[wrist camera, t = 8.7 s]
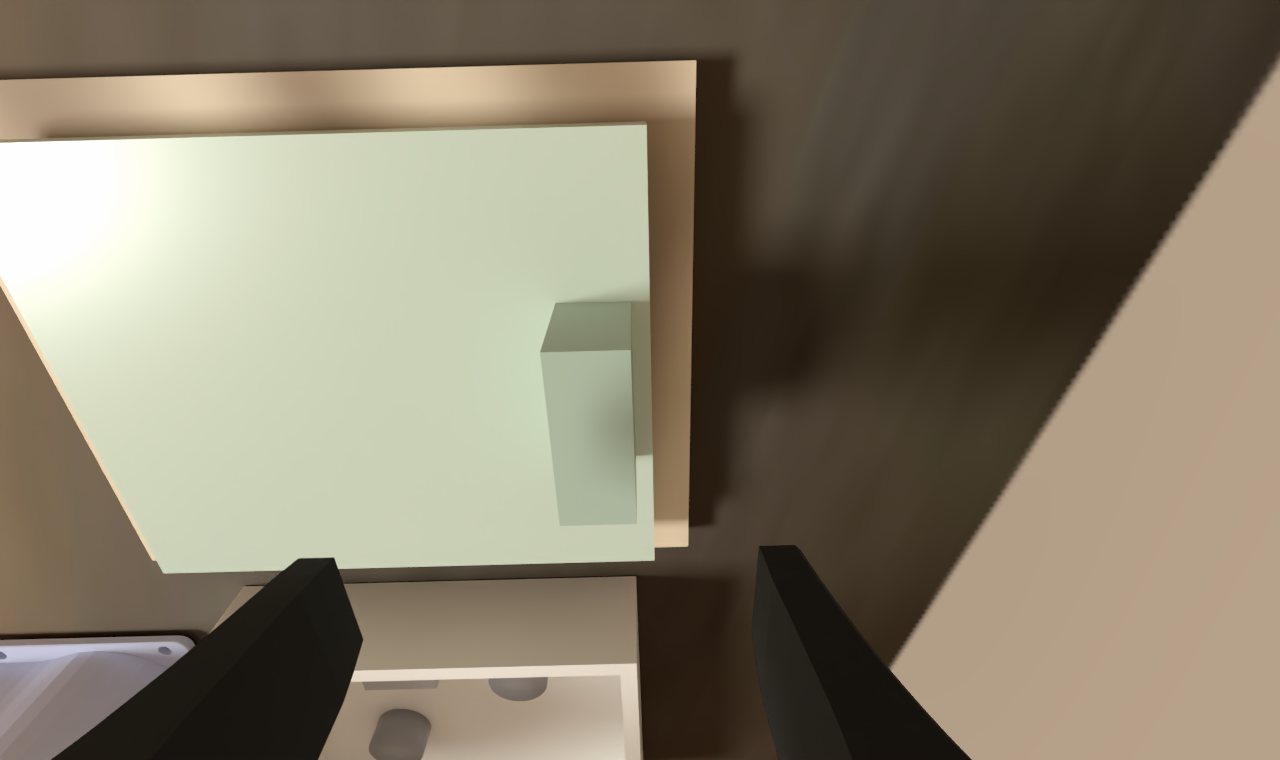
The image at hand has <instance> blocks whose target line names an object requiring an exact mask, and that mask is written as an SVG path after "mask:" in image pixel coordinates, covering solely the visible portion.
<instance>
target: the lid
mask: <svg viewBox="0 0 1280 760" xmlns="http://www.w3.org/2000/svg"><path fill="white" fill-rule="evenodd" d="M0 276H1V278H2V279H3V281H4V283H5V285H6V287H7V288H8V290H9V292H10V294H11V296H12V298H13V299H14V301H15V303H16V305H17V307H18V309H19V310H20V312H21V314H22V316H23V318H24V319H25V321H26V323H27V325H28V327H29V329H30V330H31V332H32V334H33V336H34V338H35V340H36V341H37V343H38V345H39V347H40V349H41V350H42V352H43V354H44V356H45V358H46V360H47V361H48V363H49V365H50V367H51V369H52V371H53V372H54V374H55V376H56V378H57V380H58V382H59V383H60V385H61V387H62V389H63V391H64V392H65V394H66V396H67V398H68V400H69V402H70V403H71V405H72V407H73V409H74V411H75V413H76V414H77V416H78V418H79V420H80V422H81V423H82V425H83V427H84V429H85V431H86V433H87V434H88V436H89V438H90V440H91V442H92V444H93V445H94V447H95V449H96V451H97V453H98V455H99V456H100V458H101V460H102V462H103V464H104V465H105V467H106V469H107V471H108V473H109V475H110V476H111V478H112V480H113V482H114V484H115V486H116V487H117V489H118V491H119V493H120V495H121V496H122V498H123V500H124V502H125V504H126V506H127V507H128V509H129V511H130V513H131V515H132V517H133V518H134V520H135V522H136V524H137V526H138V527H139V529H140V531H141V533H142V535H143V537H144V538H145V540H146V542H147V544H148V546H149V548H150V549H151V551H152V553H153V555H154V557H155V559H156V560H157V562H158V564H159V566H160V568H161V569H162V571H163V573H198V572H236V571H275V570H285V569H286V568H287V567H288V566H289V565H291V564H292V563H293V562H294V561H296V560H297V559H298V558H331V557H334V559H335V561H336V564H337V567H338V569H351V568H389V567H428V566H466V565H504V564H542V563H580V562H619V561H655V554H654V499H653V444H652V389H651V335H650V280H649V225H648V170H647V124H646V121H644V122H608V123H573V124H537V125H501V126H466V127H430V128H394V129H359V130H323V131H287V132H252V133H216V134H180V135H145V136H109V137H73V138H38V139H2V140H0Z"/></svg>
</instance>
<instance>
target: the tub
mask: <svg viewBox="0 0 1280 760" xmlns="http://www.w3.org/2000/svg"><path fill="white" fill-rule="evenodd" d="M263 587H264V586H244V587H243V588H242V589H241V591H240V592H239V593H238V595H237V596H236V597H235V599H234V600H233V602H232V603H231V604H230V606H229V607H228V608H227V610H226V611H225V612H224V614H223V615H222V617H221V618H220V619H219V621H218V622H217V623H216V625H215V626H214V627H213V629H212V630H211V632H212V631H213V630H214V629H215V628H217V627H218V626H219V625H220V624H221V623H222V622H224V621H225V620H226V619H227V618H228V617H229V616H231V615H232V614H233V613H234V612H235V611H236V610H238V609H239V608H240V607H241V606H242V605H243V604H245V603H246V602H247V601H248V600H249V599H250V598H252V597H253V596H254V595H255V594H256V593H257V592H259V591H260V590H261V589H262V588H263ZM344 587H345V589H346V592H347V595H348V598H349V600H350V603H351V606H352V609H353V612H354V614H355V617H356V620H357V623H358V626H359V628H360V631H361V634H362V637H363V643H362V646H361V649H360V653H359V656H358V659H357V663H356V666H355V669H354V673H353V676H352V679H351V682H350V685H349V688H348V691H347V694H346V697H345V700H344V702H343V705H342V707H341V709H340V712H339V714H338V716H337V719H336V721H335V723H334V725H333V727H332V730H331V732H330V734H329V736H328V739H327V741H326V743H325V745H324V748H323V750H322V752H321V754H320V756H319V759H318V760H643V741H642V715H641V689H640V663H639V637H638V611H637V585H636V576H624V577H586V578H547V579H509V580H471V581H432V582H394V583H356V584H344ZM211 632H210V633H211Z"/></svg>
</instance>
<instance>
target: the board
mask: <svg viewBox="0 0 1280 760" xmlns="http://www.w3.org/2000/svg"><path fill="white" fill-rule="evenodd" d="M695 113H696V60H678V61H643V62H608V63H572V64H537V65H502V66H466V67H431V68H396V69H361V70H325V71H290V72H255V73H219V74H184V75H149V76H114V77H78V78H43V79H8V80H0V140H2V139H38V138H73V137H109V136H145V135H180V134H216V133H252V132H287V131H323V130H359V129H394V128H430V127H466V126H501V125H537V124H573V123H608V122H644V121H646V124H647V170H648V225H649V280H650V335H651V389H652V444H653V499H654V547H686V546H688V523H689V464H690V406H691V347H692V289H693V230H694V172H695ZM0 286H1V287H2V289H3V291H4V293H5V295H6V296H7V298H8V300H9V302H10V304H11V306H12V307H13V309H14V311H15V313H16V315H17V316H18V318H19V320H20V322H21V324H22V325H23V327H24V329H25V331H26V333H27V334H28V336H29V338H30V340H31V342H32V344H33V345H34V347H35V349H36V351H37V353H38V354H39V356H40V358H41V360H42V362H43V363H44V365H45V367H46V369H47V371H48V372H49V374H50V376H51V378H52V380H53V382H54V383H55V385H56V387H57V389H58V391H59V392H60V394H61V396H62V398H63V400H64V401H65V403H66V405H67V407H68V409H69V410H70V412H71V414H72V416H73V418H74V420H75V421H76V423H77V425H78V427H79V429H80V430H81V432H82V434H83V436H84V438H85V439H86V441H87V443H88V445H89V447H90V449H91V450H92V452H93V454H94V456H95V458H96V459H97V461H98V463H99V465H100V467H101V468H102V470H103V472H104V474H105V476H106V477H107V479H108V481H109V483H110V485H111V487H112V488H113V490H114V492H115V494H116V496H117V497H118V499H119V501H120V503H121V505H122V506H123V508H124V510H125V512H126V514H127V515H128V517H129V519H130V521H131V523H132V525H133V526H134V528H135V530H136V532H137V534H138V535H139V537H140V539H141V541H142V543H143V544H144V546H145V548H146V550H147V552H148V553H149V555H150V557H151V559H152V560H156V559H155V557H154V555H153V553H152V551H151V549H150V548H149V546H148V544H147V542H146V540H145V538H144V537H143V535H142V533H141V531H140V529H139V527H138V526H137V524H136V522H135V520H134V518H133V517H132V515H131V513H130V511H129V509H128V507H127V506H126V504H125V502H124V500H123V498H122V496H121V495H120V493H119V491H118V489H117V487H116V486H115V484H114V482H113V480H112V478H111V476H110V475H109V473H108V471H107V469H106V467H105V465H104V464H103V462H102V460H101V458H100V456H99V455H98V453H97V451H96V449H95V447H94V445H93V444H92V442H91V440H90V438H89V436H88V434H87V433H86V431H85V429H84V427H83V425H82V423H81V422H80V420H79V418H78V416H77V414H76V413H75V411H74V409H73V407H72V405H71V403H70V402H69V400H68V398H67V396H66V394H65V392H64V391H63V389H62V387H61V385H60V383H59V382H58V380H57V378H56V376H55V374H54V372H53V371H52V369H51V367H50V365H49V363H48V361H47V360H46V358H45V356H44V354H43V352H42V350H41V349H40V347H39V345H38V343H37V341H36V340H35V338H34V336H33V334H32V332H31V330H30V329H29V327H28V325H27V323H26V321H25V319H24V318H23V316H22V314H21V312H20V310H19V309H18V307H17V305H16V303H15V301H14V299H13V298H12V296H11V294H10V292H9V290H8V288H7V287H6V285H5V283H4V281H3V279H2V278H1V276H0Z"/></svg>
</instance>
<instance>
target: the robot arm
mask: <svg viewBox="0 0 1280 760" xmlns="http://www.w3.org/2000/svg"><path fill="white" fill-rule="evenodd" d="M751 630H752V636H753V643H754V650H755V657H756V663H757V670H758V676H759V682H760V688H761V693H762V697H763V701H764V705H765V709H766V713H767V717H768V721H769V725H770V728H771V732H772V736H773V740H774V744H775V748H776V752H777V755H778V759H779V760H971V759H970V758H969V756H968V755H967V754H965V753H964V751H963V750H961V748H960V747H959V746H958V745H957V744H956V743H955V742H954V741H953V740H952V739H951V738H950V737H949V736H948V735H947V734H946V733H945V732H944V730H943V729H942V728H941V727H940V726H939V725H938V724H937V723H936V722H935V721H934V720H933V719H932V717H931V716H930V715H929V714H928V713H927V712H926V711H925V710H924V709H923V708H922V706H921V705H920V704H919V703H918V702H917V701H916V700H915V698H914V697H913V696H912V695H911V694H910V693H909V692H908V690H907V689H906V688H905V687H904V686H903V685H902V684H901V682H900V681H899V680H898V679H897V678H896V677H895V675H894V674H893V673H892V672H891V670H890V669H889V668H888V667H887V666H886V664H885V663H884V662H883V661H882V660H881V658H880V657H879V656H878V655H877V653H876V652H875V651H874V650H873V648H872V647H871V646H870V645H869V643H868V642H867V641H866V640H865V638H864V637H863V636H862V635H861V633H860V632H859V631H858V630H857V628H856V627H855V626H854V624H853V623H852V622H851V620H850V619H849V618H848V617H847V615H846V614H845V613H844V611H843V610H842V608H841V607H840V606H839V604H838V603H837V602H836V600H835V599H834V598H833V596H832V595H831V594H830V592H829V591H828V589H827V588H826V587H825V585H824V584H823V582H822V581H821V579H820V578H819V577H818V575H817V574H816V572H815V571H814V569H813V568H812V566H811V565H810V563H809V562H808V560H807V559H806V557H805V556H804V554H803V553H802V551H801V550H800V549H799V548H798V547H797V546H796V545H782V546H759V552H758V563H757V574H756V585H755V596H754V607H753V618H752V629H751ZM362 643H363V637H362V634H361V631H360V628H359V626H358V623H357V620H356V617H355V614H354V612H353V609H352V606H351V603H350V600H349V598H348V595H347V592H346V589H345V587H344V584H343V581H342V578H341V575H340V573H339V570H338V567H337V564H336V561H335V559H334V557H331V558H298V559H297V560H296V561H294V562H293V563H292V564H291V565H289V566H288V567H287V568H286V569H285V570H283V571H282V572H281V573H280V574H279V575H277V576H276V577H275V578H274V579H273V580H271V581H270V582H269V583H268V584H267V585H266V586H264V587H263V588H262V589H261V590H260V591H259V592H257V593H256V594H255V595H254V596H253V597H252V598H250V599H249V600H248V601H247V602H246V603H245V604H243V605H242V606H241V607H240V608H239V609H238V610H236V611H235V612H234V613H233V614H232V615H231V616H229V617H228V618H227V619H226V620H225V621H224V622H222V623H221V624H220V625H219V626H218V627H217V628H215V629H214V630H213V631H212V632H211V633H209V634H208V635H207V636H206V637H205V638H204V639H202V640H201V641H200V642H199V643H198V644H196V645H195V644H194V642H193V641H192V640H191V639H190V638H188V637H185V636H180V635H173V636H135V637H96V638H57V639H19V640H0V760H318V759H319V756H320V754H321V752H322V750H323V748H324V745H325V743H326V741H327V739H328V736H329V734H330V732H331V730H332V727H333V725H334V723H335V721H336V719H337V716H338V714H339V712H340V709H341V707H342V705H343V702H344V700H345V697H346V694H347V691H348V688H349V685H350V682H351V679H352V676H353V673H354V669H355V666H356V663H357V659H358V656H359V653H360V649H361V646H362Z"/></svg>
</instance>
